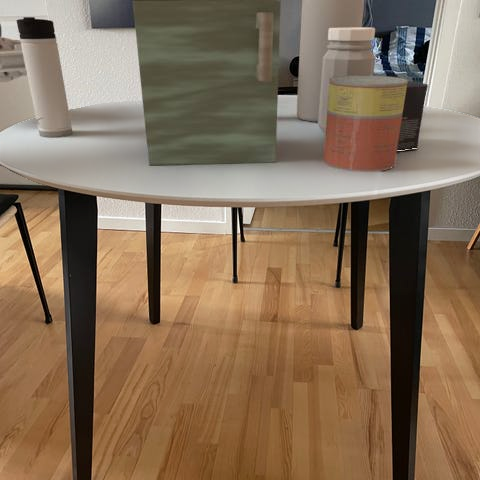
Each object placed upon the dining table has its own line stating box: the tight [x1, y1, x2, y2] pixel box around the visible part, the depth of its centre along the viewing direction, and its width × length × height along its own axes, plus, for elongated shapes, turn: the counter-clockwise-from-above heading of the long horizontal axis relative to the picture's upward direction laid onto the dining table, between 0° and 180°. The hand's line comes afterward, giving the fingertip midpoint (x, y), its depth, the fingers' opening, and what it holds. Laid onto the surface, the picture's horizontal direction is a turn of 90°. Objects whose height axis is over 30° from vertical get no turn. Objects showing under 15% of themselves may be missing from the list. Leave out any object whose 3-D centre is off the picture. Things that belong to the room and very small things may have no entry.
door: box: [132, 0, 282, 166], centre depth 71 cm, size 6×20×22 cm, turn 94°
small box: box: [397, 80, 429, 150], centre depth 87 cm, size 11×6×10 cm, turn 21°
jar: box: [317, 26, 377, 134], centre depth 96 cm, size 10×10×18 cm
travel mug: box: [16, 16, 73, 138], centre depth 94 cm, size 6×7×20 cm
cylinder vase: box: [296, 0, 366, 123], centre depth 107 cm, size 12×12×25 cm
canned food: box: [322, 75, 409, 173], centre depth 76 cm, size 11×11×12 cm
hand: (21, 63), depth 99 cm, fingers open, 8 cm apart
